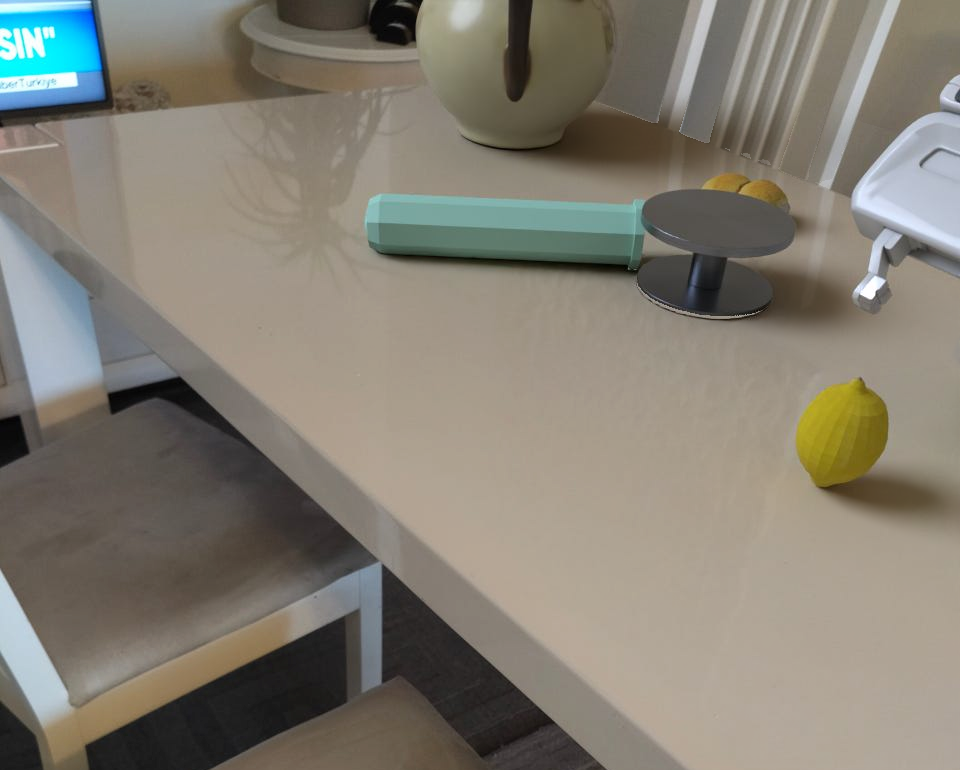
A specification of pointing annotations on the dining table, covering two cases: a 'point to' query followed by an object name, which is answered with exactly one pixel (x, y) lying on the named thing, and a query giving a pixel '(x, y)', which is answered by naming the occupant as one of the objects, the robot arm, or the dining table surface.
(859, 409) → the fruit
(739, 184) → the bread roll
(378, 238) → the container
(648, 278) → the stand
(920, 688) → the dining table surface
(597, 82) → the pitcher
